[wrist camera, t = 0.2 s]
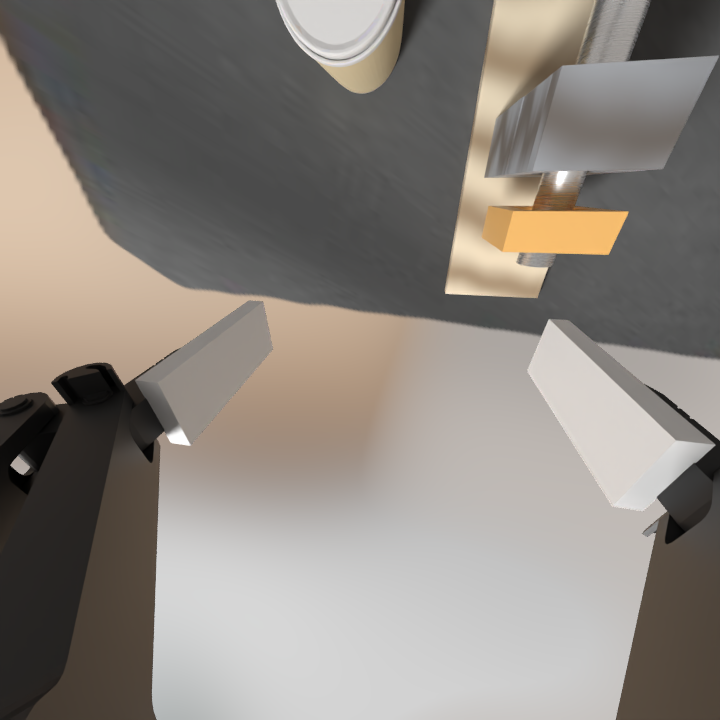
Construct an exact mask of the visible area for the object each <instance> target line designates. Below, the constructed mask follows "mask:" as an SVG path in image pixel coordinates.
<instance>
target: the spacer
mask: <svg viewBox="0 0 720 720" xmlns="http://www.w3.org/2000/svg"><path fill="white" fill-rule="evenodd" d="M532 207H533V206H488V210H487V215H486V220H485V224H484V229H483V233H482V238H483V239H484V240H486V241H487V242H489V243H490V244H492V245H493V246H495V247H496V248H497V249H499V250H500V251H502V252H524V253H564V254H605V255H609V252H610V250H611V248H612V246H613V244H614V242H615V240H616V238H617V236H618V234H619V231H620V229H621V227H622V225H623V223H624V221H625V219H626V217H627V215H628V212H627V211H617V210H608V209H598V208H589V207H580V206H574V209H573V210H532Z"/></svg>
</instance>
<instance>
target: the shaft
mask: <svg viewBox="0 0 720 720" xmlns="http://www.w3.org/2000/svg"><path fill="white" fill-rule="evenodd" d="M651 1H652V0H595V1H594V4H593V7H592V11H591V14H590V17H589V21H588V24H587V27H586V31H585V34H584V37H583V41H582V44H581V47H580V51H579V54H578V57H577V61H576V64H575V65H581V64H596V63H612V62H627V61H629V59H630V57H631V54H632V51H633V49H634V46H635V43H636V41H637V38H638V35H639V33H640V30H641V27H642V25H643V22H644V19H645V17H646V14H647V11H648V9H649V6H650V3H651ZM587 172H588V171H555V172H547V173H543V174H542V177H541V181H540V184H539V187H538V191H537V194H536V197H535V201H534V204H533V207H532V210H573V209H574V206H575V204H576V201H577V198H578V196H579V193H580V190H581V188H582V185H583V182H584V180H585V177H586V174H587ZM556 255H557V253H524V252H519V254H518V257H517V260H516V263H517V264H520V265H523V266H529V267H539V268H546V267H552V265H553V263H554V260H555V257H556Z"/></svg>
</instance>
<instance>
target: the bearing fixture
mask: <svg viewBox="0 0 720 720" xmlns="http://www.w3.org/2000/svg"><path fill="white" fill-rule="evenodd" d="M594 1H595V0H494V4H493V10H492V16H491V21H490V27H489V33H488V39H487V45H486V51H485V57H484V63H483V68H482V74H481V80H480V86H479V92H478V98H477V104H476V110H475V116H474V121H473V127H472V133H471V139H470V145H469V151H468V157H467V163H466V168H465V174H464V180H463V186H462V192H461V198H460V204H459V210H458V215H457V221H456V227H455V233H454V239H453V245H452V251H451V257H450V263H449V268H448V274H447V280H446V286H445V294H462V295H484V296H505V297H527V298H537V297H538V294H539V291H540V289H541V286H542V283H543V281H544V278H545V275H546V272H547V270H548V267H546V268H539V267H529V266H523V265H520V264H517V263H516V260H517V257H518V254H519V252H502V251H500V250H499V249H497V248H496V247H495V246H493V245H492V244H490V243H489V242H487V241H486V240H484V239H483V238H482V233H483V229H484V224H485V220H486V215H487V210H488V206H533V204H534V201H535V197H536V194H537V191H538V187H539V184H540V181H541V177H542V174H543V173H547V172H555V171H588V172H587V174H586V175H593V174H606V173H617V172H630V171H643V170H656V169H663V168H664V166H665V164H666V162H667V160H668V158H669V156H670V154H671V152H672V150H673V148H674V146H675V144H676V142H677V140H678V138H679V136H680V134H681V132H682V130H683V127H684V125H685V123H686V121H687V119H688V117H689V115H690V113H691V111H692V109H693V107H694V105H695V103H696V101H697V99H698V97H699V95H700V93H701V91H702V89H703V87H704V85H705V83H706V81H707V79H708V77H709V75H710V73H711V71H712V69H713V67H714V65H715V63H716V61H717V59H718V57H719V56H705V57H690V58H674V59H658V60H643V61H627V62H612V63H596V64H581V65H575V64H576V61H577V57H578V54H579V51H580V47H581V44H582V41H583V37H584V34H585V31H586V27H587V24H588V21H589V17H590V14H591V11H592V7H593V4H594Z"/></svg>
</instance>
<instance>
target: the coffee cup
mask: <svg viewBox="0 0 720 720" xmlns="http://www.w3.org/2000/svg"><path fill="white" fill-rule="evenodd" d="M276 2H277V5H278V8H279V11H280V13H281V16H282V18H283V20H284V23H285V25H286V27H287V28H288V30H289V32H290V34H291V35H292V37H293V38H294V40H295V41H296V43H297V44H298V45H299V46H300V47H301V48H302V49H303V50H304V51H305V52H306V53H307V54H308V55H309V56H311V57H312V58H313V59H315V60H316V61H317V62H318V63H319V64H320V65H321V66H322V67H323V68H324V69H325V70H326V71H327V72H328V73H329V74H330V75H331V76H332V77H333V78H334V79H336V80H337V81H338V82H339V83H340V84H341V85H342V86H344V87H345V88H346V89H348V90H350V91H352V92H355V93H369V92H371V91H374V90H375V89H377V88H378V87H380V86H381V85H382V84H383V83H384V82H385V81H386V80H387V78H388V77H389V76H390V74H391V72H392V70H393V68H394V66H395V64H396V61H397V59H398V55H399V51H400V46H401V39H402V30H403V18H404V5H405V0H276Z"/></svg>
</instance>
